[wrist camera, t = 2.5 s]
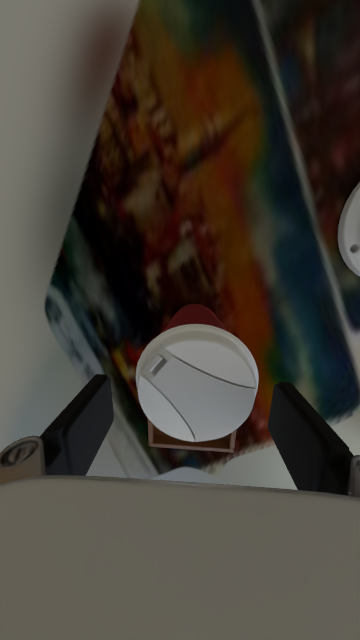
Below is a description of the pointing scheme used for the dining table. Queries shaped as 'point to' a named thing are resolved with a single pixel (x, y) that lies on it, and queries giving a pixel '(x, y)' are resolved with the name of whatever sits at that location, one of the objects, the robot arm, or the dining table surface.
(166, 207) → the dining table surface
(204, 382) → the paper cup
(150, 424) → the tray
